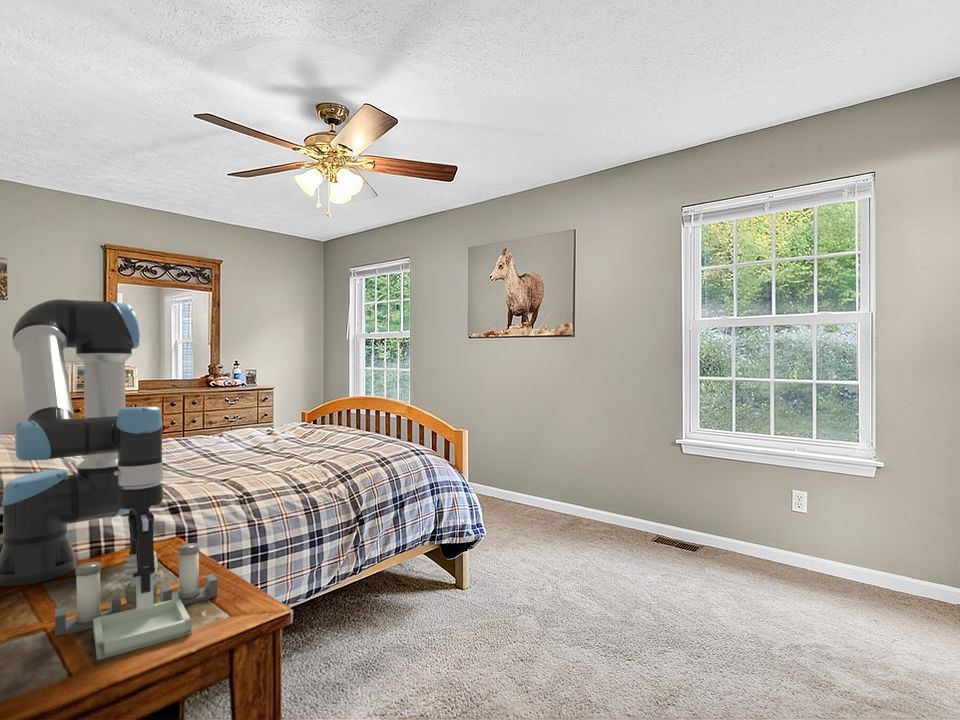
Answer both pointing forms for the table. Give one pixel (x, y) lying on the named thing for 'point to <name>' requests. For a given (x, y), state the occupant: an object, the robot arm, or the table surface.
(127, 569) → the light bulb
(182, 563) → the grey capped cylinder
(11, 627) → the table surface
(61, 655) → the table surface
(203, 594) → the clip block
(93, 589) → the fuse
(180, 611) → the tray
